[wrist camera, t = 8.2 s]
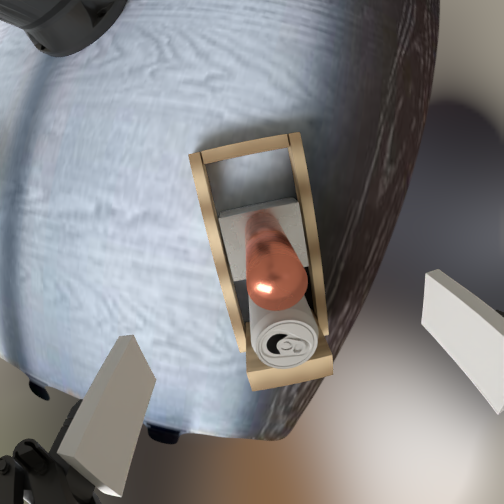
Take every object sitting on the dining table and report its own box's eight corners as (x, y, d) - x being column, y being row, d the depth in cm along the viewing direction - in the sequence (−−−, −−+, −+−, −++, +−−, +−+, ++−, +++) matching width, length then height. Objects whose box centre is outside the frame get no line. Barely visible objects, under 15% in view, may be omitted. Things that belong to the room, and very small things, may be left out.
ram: (221, 211, 32) (199, 265, 16) (292, 197, 32) (341, 236, 16) (234, 267, 34) (229, 359, 18) (301, 254, 34) (348, 334, 18)
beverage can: (255, 260, 34) (261, 310, 23) (305, 271, 35) (332, 323, 24) (242, 305, 36) (243, 367, 25) (290, 315, 37) (307, 376, 26)
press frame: (192, 155, 30) (170, 153, 21) (295, 133, 30) (318, 123, 20) (240, 341, 38) (239, 393, 29) (324, 324, 38) (345, 371, 28)
